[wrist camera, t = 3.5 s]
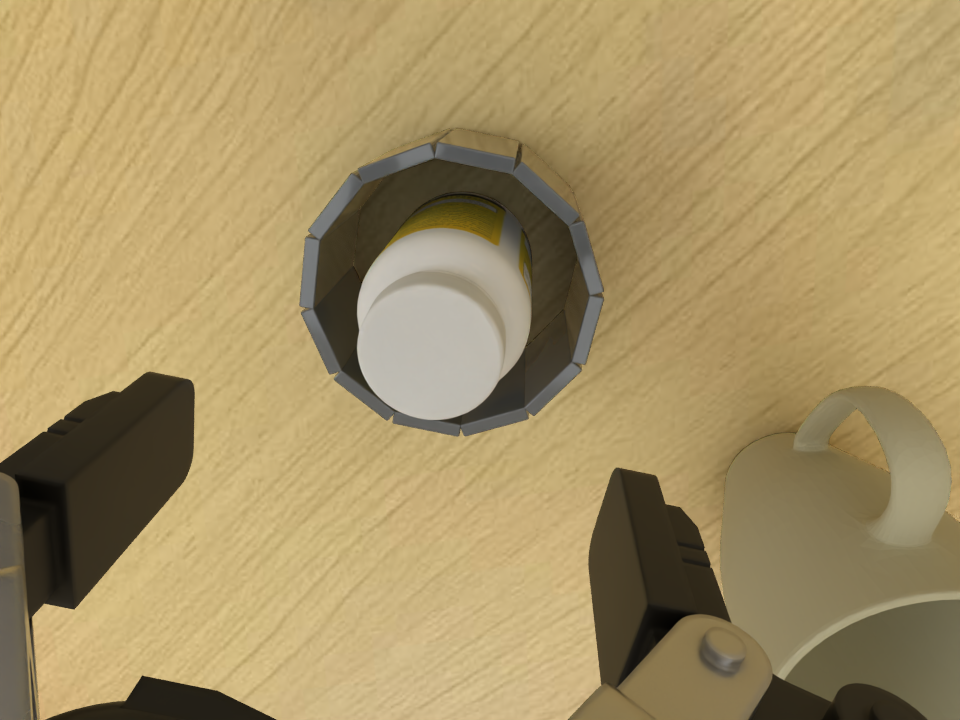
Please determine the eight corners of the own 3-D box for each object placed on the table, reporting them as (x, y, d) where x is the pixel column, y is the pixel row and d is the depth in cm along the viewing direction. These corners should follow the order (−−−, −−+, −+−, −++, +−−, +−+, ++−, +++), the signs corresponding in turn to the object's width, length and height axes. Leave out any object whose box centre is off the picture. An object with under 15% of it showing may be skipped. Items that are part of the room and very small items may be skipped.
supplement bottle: (369, 248, 27) (288, 337, 18) (473, 160, 25) (440, 209, 16) (456, 347, 28) (421, 475, 19) (560, 269, 27) (574, 370, 18)
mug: (951, 470, 29) (1208, 713, 18) (760, 593, 32) (879, 862, 21) (794, 298, 27) (980, 458, 16) (605, 450, 30) (649, 670, 19)
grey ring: (332, 345, 29) (290, 403, 24) (359, 107, 25) (315, 115, 20) (554, 390, 29) (560, 458, 24) (615, 160, 25) (637, 183, 20)
